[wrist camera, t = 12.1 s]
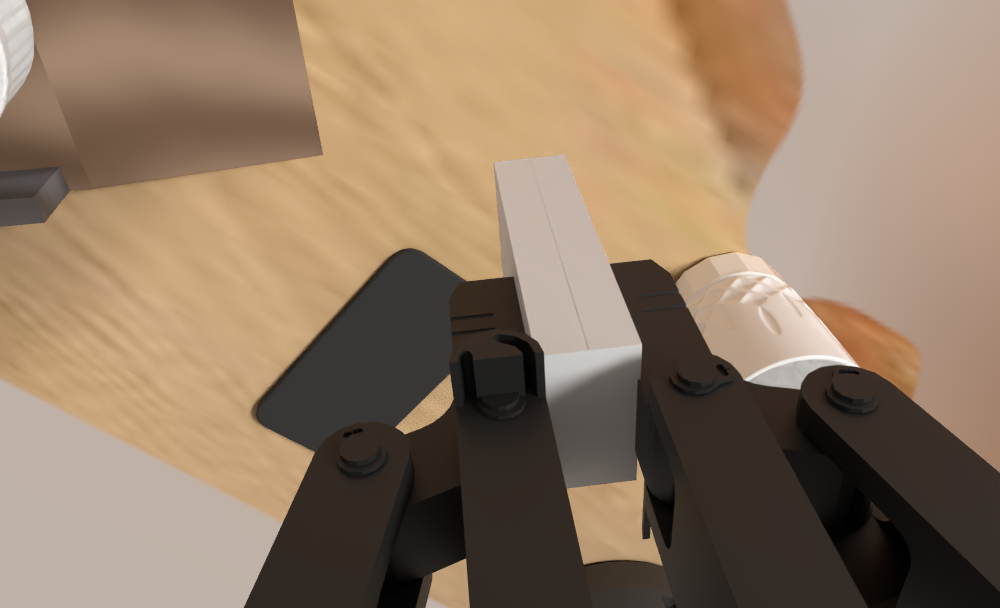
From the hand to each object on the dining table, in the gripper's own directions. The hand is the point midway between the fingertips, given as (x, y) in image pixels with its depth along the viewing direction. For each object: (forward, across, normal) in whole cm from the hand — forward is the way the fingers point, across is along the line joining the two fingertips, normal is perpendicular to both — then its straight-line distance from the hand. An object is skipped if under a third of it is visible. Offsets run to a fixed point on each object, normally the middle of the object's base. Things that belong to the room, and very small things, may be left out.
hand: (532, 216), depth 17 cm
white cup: (+21, -13, +18) cm, 30 cm away
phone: (+21, +7, +20) cm, 30 cm away
